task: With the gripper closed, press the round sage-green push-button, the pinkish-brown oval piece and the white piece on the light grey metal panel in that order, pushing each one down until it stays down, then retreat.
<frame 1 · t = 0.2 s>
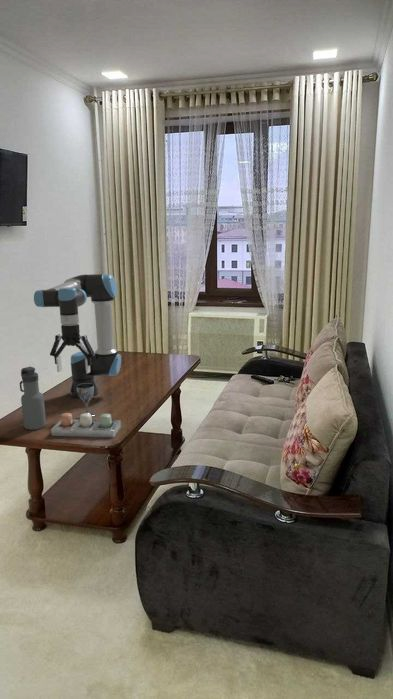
hand: (73, 372, 221), 27 cm above the table, fingers open, 13 cm apart
wine glass: (87, 415, 246), on the table
pinkish-brown oval piece: (66, 420, 227), point 5 cm above the table, slide at 0.0 cm
white piece: (86, 420, 226), point 5 cm above the table, slide at 0.0 cm
panel: (86, 430, 227), on the table
water bottle: (35, 426, 234), on the table
sage button: (105, 421, 225), point 5 cm above the table, slide at 0.0 cm
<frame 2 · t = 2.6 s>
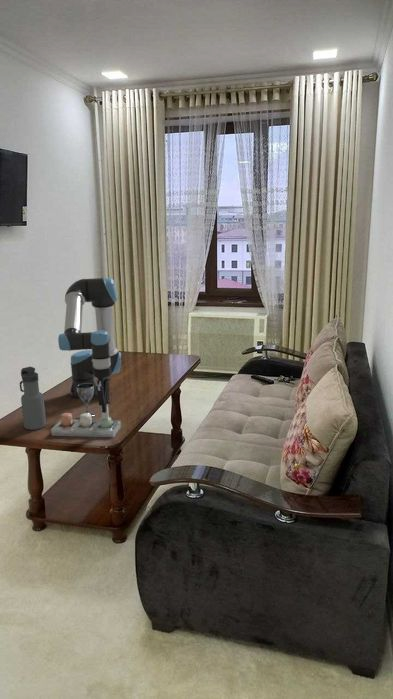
hand: (105, 418, 224), 6 cm above the table, fingers closed
sage button: (105, 424, 225), point 4 cm above the table, slide at 1.4 cm, touching gripper
everything else where it was.
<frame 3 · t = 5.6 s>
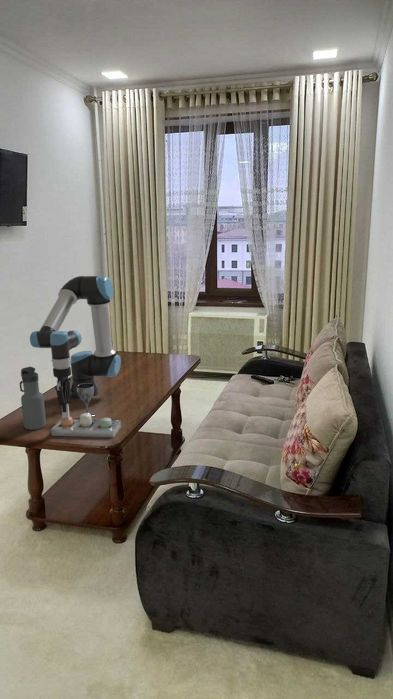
hand: (66, 417, 226), 6 cm above the table, fingers closed
pinkish-brown oval piece: (66, 423, 227), point 3 cm above the table, slide at 1.6 cm, touching gripper
sage button: (105, 425, 225), point 3 cm above the table, slide at 2.0 cm
everything else where it was.
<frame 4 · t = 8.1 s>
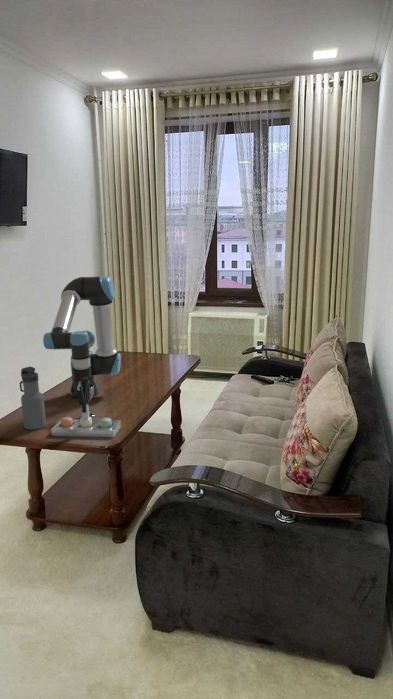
hand: (85, 418, 225), 6 cm above the table, fingers closed
pinkish-brown oval piece: (66, 424, 227), point 3 cm above the table, slide at 2.0 cm
white piece: (86, 423, 226), point 3 cm above the table, slide at 1.6 cm, touching gripper
everything else where it was.
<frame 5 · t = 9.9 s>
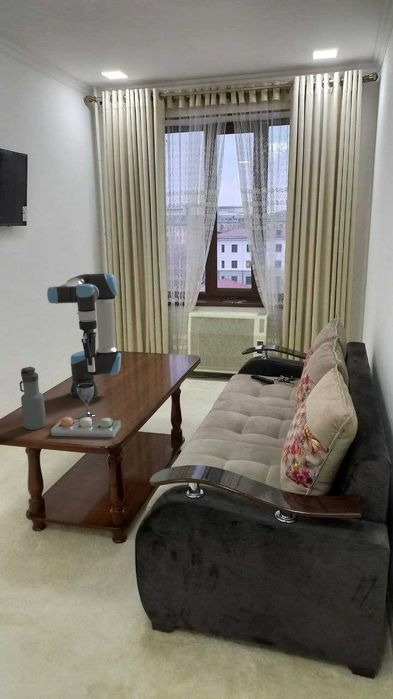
hand: (91, 371, 227), 26 cm above the table, fingers closed
white piece: (86, 424, 226), point 3 cm above the table, slide at 2.0 cm
everything else where it was.
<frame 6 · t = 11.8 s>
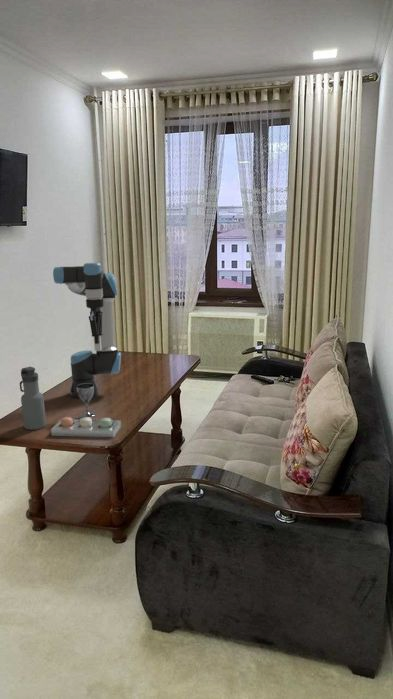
hand: (98, 350, 230), 34 cm above the table, fingers closed
nothing on the table moved.
at the end: sage button slide at 2.0 cm; pinkish-brown oval piece slide at 2.0 cm; white piece slide at 2.0 cm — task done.
